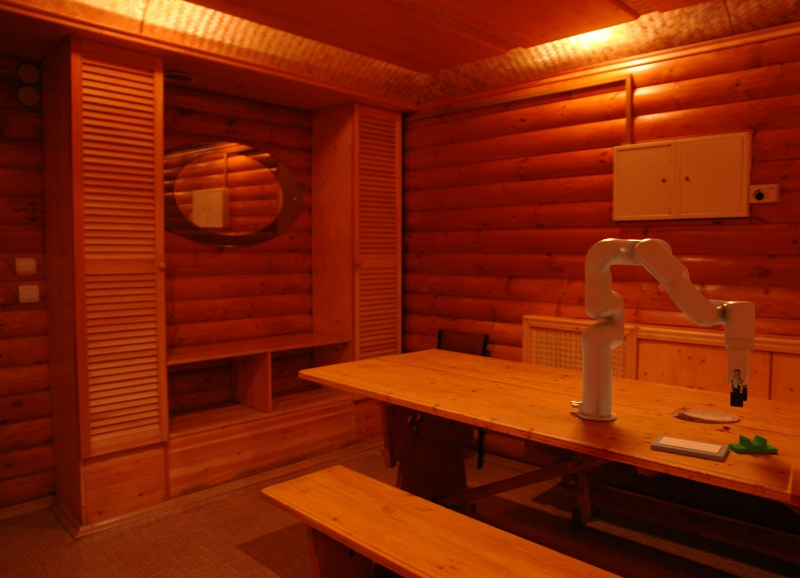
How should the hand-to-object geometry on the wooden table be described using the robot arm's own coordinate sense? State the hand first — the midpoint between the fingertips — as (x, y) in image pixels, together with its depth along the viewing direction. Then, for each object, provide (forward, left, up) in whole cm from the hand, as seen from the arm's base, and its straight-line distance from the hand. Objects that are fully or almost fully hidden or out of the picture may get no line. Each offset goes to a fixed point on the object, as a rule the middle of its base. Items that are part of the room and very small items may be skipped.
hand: (738, 403), depth 174 cm
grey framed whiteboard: (-10, -13, -12) cm, 21 cm away
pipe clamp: (0, -1, -9) cm, 9 cm away
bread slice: (-12, +25, -13) cm, 31 cm away
